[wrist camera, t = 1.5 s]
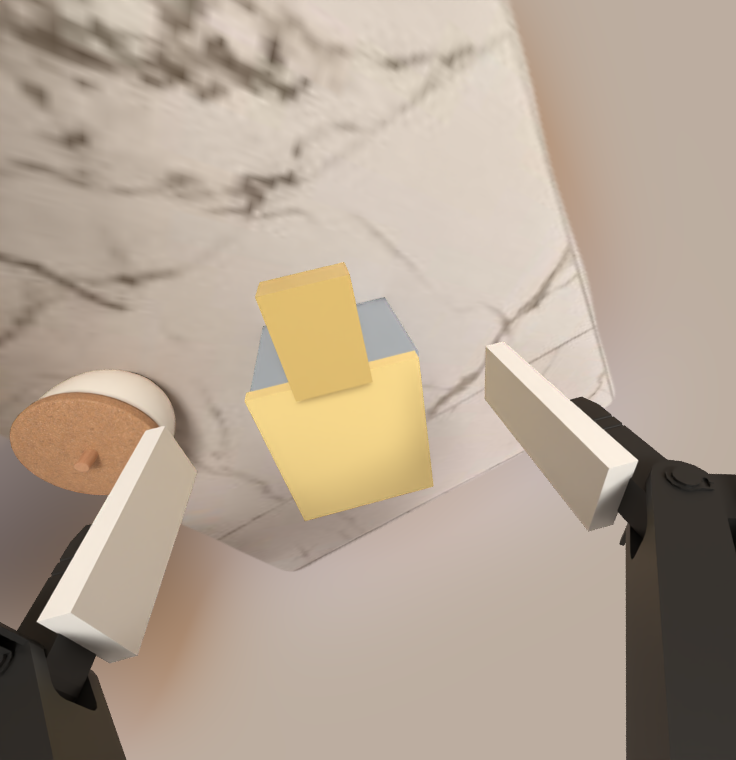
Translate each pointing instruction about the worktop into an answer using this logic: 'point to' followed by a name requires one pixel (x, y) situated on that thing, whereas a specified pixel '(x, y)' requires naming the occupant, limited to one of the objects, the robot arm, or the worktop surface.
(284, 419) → the lid
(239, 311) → the worktop surface
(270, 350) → the tub
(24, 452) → the lidded jar
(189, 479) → the robot arm
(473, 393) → the worktop surface
